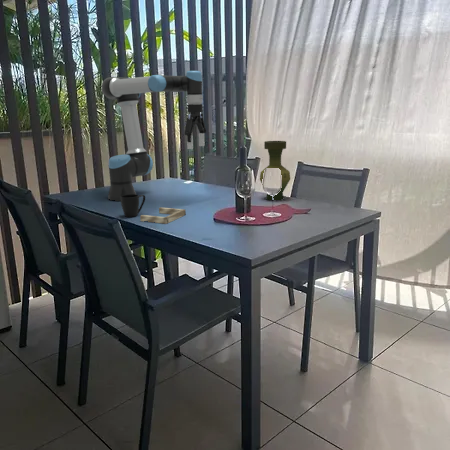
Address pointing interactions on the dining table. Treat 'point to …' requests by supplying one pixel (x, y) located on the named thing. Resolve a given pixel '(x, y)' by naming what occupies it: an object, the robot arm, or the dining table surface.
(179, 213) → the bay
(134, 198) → the mug
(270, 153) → the vase
